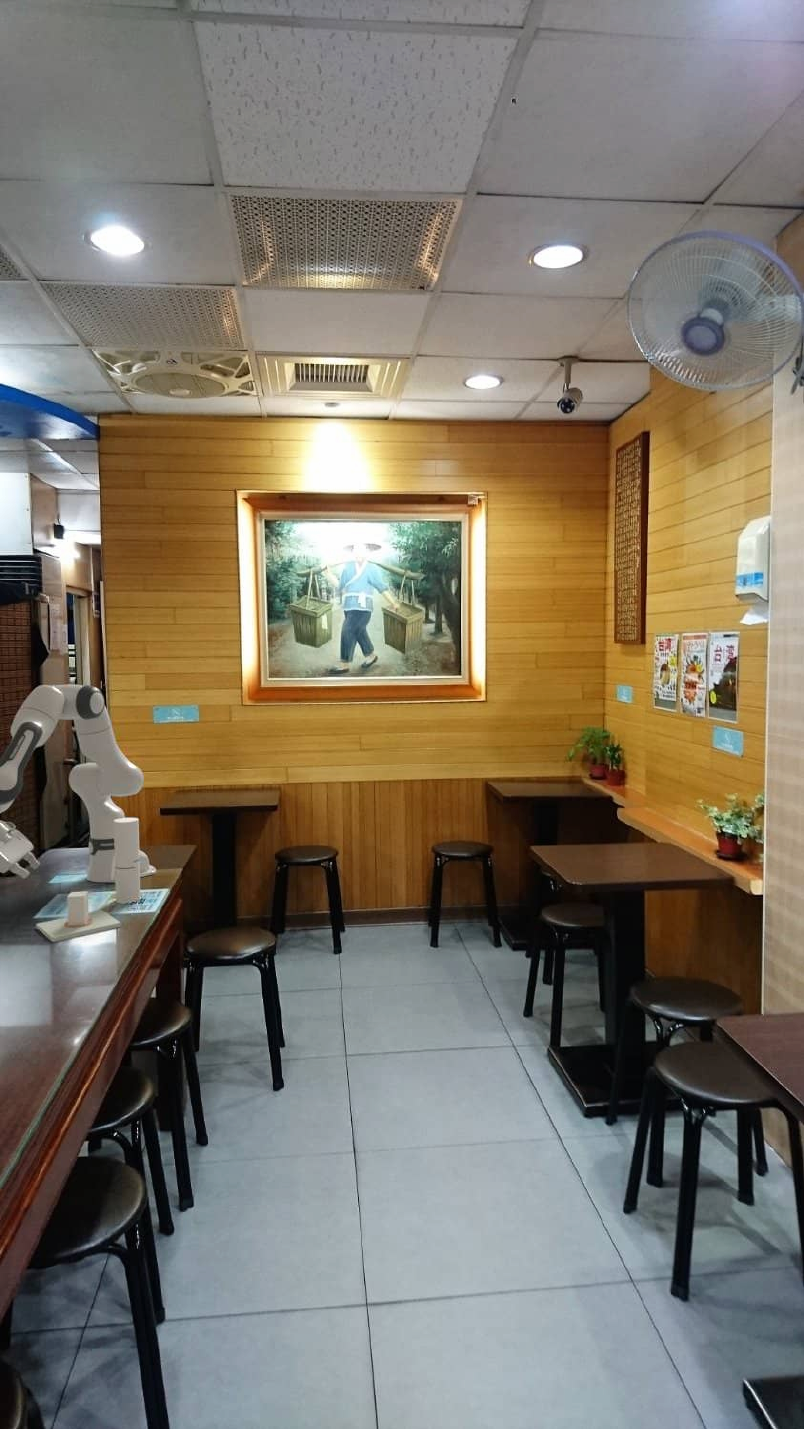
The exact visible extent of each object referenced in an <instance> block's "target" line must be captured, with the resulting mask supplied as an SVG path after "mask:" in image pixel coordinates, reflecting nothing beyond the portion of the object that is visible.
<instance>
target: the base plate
mask: <svg viewBox="0 0 804 1429" xmlns="http://www.w3.org/2000/svg"><path fill="white" fill-rule="evenodd" d="M35 924H36V926H35V928H36V929H37V930H38V929H39V930H40V931H41V932H42V933H41V932H40V931H39V930H38V931H39V932H40V933H41V934H43V935H44V936H45V937H46V938H47V939H48V940H50V941H51V942H52V943H56V942H59V941H64V940H69V939H73V938H76V937H77V938H78V937H81V936H86V935H90V934H95V933H99V932H103V931H108V930H112V929H117V928H120V927H122V926H121V925H122V924H121V922H120V921H119V920H117V919H116V918H114V917H113V916H112V915H110V914H108V913H107V912H105V911H104V910H102V909H101V910H98V911H97V910H96V911H91V912H89V920H88V921H87V923H86V924H85V925H69V926H68V916H67V917H63V918H58V919H54V920H49V921H44V922H39V923H35Z"/></svg>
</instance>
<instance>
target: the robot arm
mask: <svg viewBox="0 0 804 1429" xmlns="http://www.w3.org/2000/svg"><path fill="white" fill-rule="evenodd" d="M105 703H106V700H105V695H104V694H103V692H102V691H101V689H99V688H98V687H95V686H92V685H88V684H87V685H81V684H74V683H73V684H72V683H68V684H56V685H55V684H42V685H38V686H37V687H35V688H34V689H33V690H32V691H31V692H30V693H29V695H28V696H27V697H26V699H25V700H24V701H23V703H22V704H21V706H20V707H19V709H18V711H17V712H16V714H15V716H14V719H13V721H12V724H11V727H10V734H11V735H10V736H12V739H11V740H10V743H9V745H8V747H7V748H6V750H5V751H4V754H3V755H2V757H1V758H0V814H1V813H3V812H5V811H7V810H8V809H9V808H10V806H12V804H13V802H14V801H15V799H16V798H17V797H18V796H19V795H20V793H21V791H22V790H23V785H24V770H25V769H26V766H27V764H28V763H29V761H30V758H31V756H32V755H33V752H34V751H35V749H36V748H38V747H39V748H40V747H42V746H44V745H45V743H46V742H47V741H48V740H49V739H50V737H51V735H52V734H53V732H54V730H55V729H56V727H57V725H58V722H59V721H60V720H65V721H71V720H73V724H74V728H75V732H76V736H77V741H78V744H79V748H80V749H79V750H80V751H81V752H80V753H81V754H82V755H83V756H85V757H86V758H88V759H89V760H91V762H86V763H81V764H76V765H75V766H73V767H72V769H71V771H70V773H69V776H68V784H69V787H70V789H71V790H72V791H73V792H74V793H76V794H77V795H78V796H79V797H80V799H82V801H83V803H84V805H85V807H86V810H87V813H88V817H89V832H90V834H89V835H90V836H89V839H88V851H89V852H88V853H89V864H88V871H87V874H86V878H85V880H87V881H89V882H93V883H114V884H115V845H114V820H116V819H120V818H126V816H125V812H124V810H123V809H122V808H121V807H120V806H118V805H116V804H115V802H114V801H113V800H112V797H127V796H128V797H129V796H133V795H137V794H138V793H139V792H141V790H142V789H143V785H144V782H145V781H144V780H145V777H144V774H143V771H142V770H141V768H140V767H138V766H136V765H135V764H134V763H132V762H131V761H130V760H129V759H128V758H127V757H126V755H124V754H123V751H121V749H120V748H119V745H118V744H117V741H116V740H117V739H116V737H115V734H114V730H113V726H112V721H111V718H110V714H109V712H108V709H107V707H106V704H105ZM16 827H17V826H16V825H15V824H14V823H12V822H10V821H3V820H1V819H0V873H2V874H5V873H6V872H8V871H10V872H11V873H13V874H16V875H17V876H20V877H21V878H22V879H26V878H28V876H29V875H30V873H31V872H30V871H29V870H28V869H27V868H24V867H22V866H20V864H19V862H20V861H22V860H25V861H27V862H28V864H29V866H30V867H31V868H33V870H36V869H38V867H39V866H41V862H39V861H38V860H37V859H36V857H35V854H34V853H33V852H31V851H33V849H34V845H33V843H32V842H31V841H30V840H29V839H28V838H27V837H26V836H25V835H24V834H23V833H21V831H19V830H18V829H16ZM139 857H140V858H139V859H140V878H143V877H146V876H151V875H154V874H156V873H157V869H156V867H155V866H153V865H151V864H150V861H149V858H148V855H147V854H146V853H145V852H144V851H142V850H140V849H139Z"/></svg>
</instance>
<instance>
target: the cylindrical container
mask: <svg viewBox="0 0 804 1429" xmlns="http://www.w3.org/2000/svg"><path fill="white" fill-rule="evenodd" d="M139 822H140V820H139V818H138V817H125V818H120V819H116V820H114V845H115V883H114V884H115V902H116V903H117V904H126V903H128V904H133V903H132V902H134V903H137V902H139V901H140V900H141V877H140V859H139V858H140V857H139V850H140V829H139V827H140V823H139ZM139 899H140V900H139ZM138 900H139V901H138ZM136 901H137V902H136Z"/></svg>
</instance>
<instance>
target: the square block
mask: <svg viewBox="0 0 804 1429" xmlns="http://www.w3.org/2000/svg"><path fill="white" fill-rule="evenodd" d="M66 898H67V899H66V900H67V901H66V902H67V917H68V926H69V925H85V924H86V923H87V921H88V920H89V913H90V911H89V891H87V890H86V891H70V893H69V894H68V895H67V897H66Z"/></svg>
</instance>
